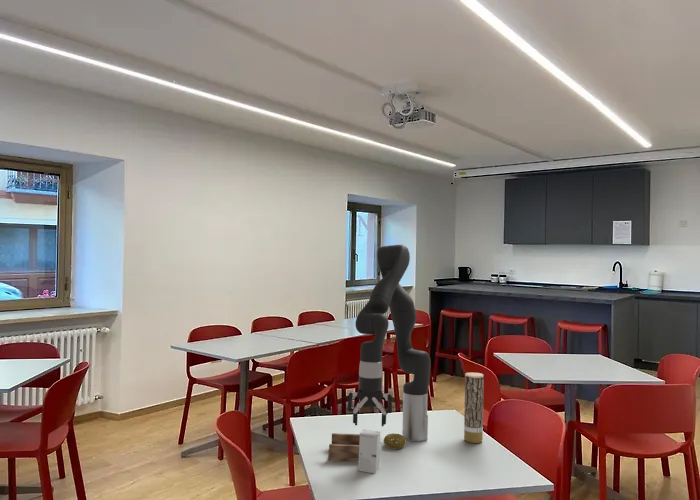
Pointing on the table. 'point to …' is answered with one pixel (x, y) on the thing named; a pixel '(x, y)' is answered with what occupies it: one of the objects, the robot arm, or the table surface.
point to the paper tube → (473, 407)
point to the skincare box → (369, 451)
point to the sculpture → (394, 441)
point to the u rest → (344, 447)
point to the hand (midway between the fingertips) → (369, 425)
